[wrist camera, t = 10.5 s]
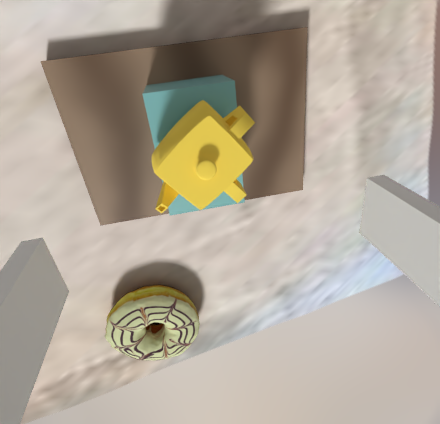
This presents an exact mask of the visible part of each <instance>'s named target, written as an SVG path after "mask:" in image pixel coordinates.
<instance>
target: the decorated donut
mask: <svg viewBox="0 0 440 424" xmlns="http://www.w3.org/2000/svg"><path fill="white" fill-rule="evenodd" d="M154 322H158V323H162V324H160V325H151V323H154ZM199 324H200V323H199V316H198V313H197V310H196V308H195V306H194V304H193V303H192V301H191V300H190V299H189V297H188V296H186V295H185V294H184V293H182V292H181V291H179V290H177V289H174V288H171V287H168V286H163V285H154V286H145V287H142V288H140V289H136V290H135V291H132V292H129V293H127V294H126V295H125V296H123V297H122V298H121V299H120V300H119V301H118V302H117V303H116V305H115V306H114V307H113V308H112V309H111V311H110V313H109V315H108V317H107V327H106V335H105V338H106V339H107V341H108V342H109V343H110V344H111V347H112V348H114V349H115V350H117V351H119V352H121V353H123V354H125V355H126V356H129V357H132V358H135V359H140V360H162V359H168V358H171V357H174V356H178V355H180V354H181V353H183V352H184V351H185V350H186V349H187V348H188V347H189V346H190V345H191V343H192V342H193V341H194V339H195V338H196V337H197V335H198V331H199Z"/></svg>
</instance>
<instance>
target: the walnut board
mask: <svg viewBox="0 0 440 424" xmlns="http://www.w3.org/2000/svg"><path fill="white" fill-rule="evenodd" d="M306 58H307V27H304V28H296V29H289V30H281V31H273V32H265V33H257V34H250V35H242V36H234V37H226V38H219V39H211V40H203V41H195V42H187V43H180V44H172V45H164V46H156V47H149V48H141V49H133V50H125V51H118V52H110V53H102V54H94V55H86V56H79V57H71V58H63V59H55V60H48V61H41V64H42V67H43V69H44V72H45V75H46V78H47V80H48V83H49V86H50V89H51V91H52V94H53V97H54V99H55V102H56V105H57V108H58V110H59V113H60V116H61V119H62V121H63V124H64V127H65V129H66V132H67V135H68V138H69V140H70V143H71V146H72V149H73V151H74V154H75V157H76V159H77V162H78V165H79V168H80V170H81V173H82V176H83V179H84V181H85V184H86V187H87V189H88V192H89V195H90V198H91V200H92V203H93V206H94V209H95V211H96V214H97V217H98V219H99V222H100V225H106V224H112V223H117V222H123V221H129V220H134V219H140V218H146V217H151V216H157V215H163V214H168V213H169V209H166V210H165V211H164V212H163V213H162V214H161V213H160V212H159V211H157V210H156V209H155V208H156V205H157V201H158V198H159V195H160V191H161V188H162V185H163V183H162V179H161V178H159V177H158V176H157V175H156V174H155V173H154V170H153V167H152V154H153V152H154V150H155V148H154V143H153V139H152V134H151V130H150V125H149V121H148V117H147V112H146V108H145V103H144V99H143V95H142V94H143V91H144V89H145V87H146V85H151V84H158V83H165V82H173V81H180V80H187V79H194V78H201V77H209V76H216V75H224V76H226V77H228V78H230V79H232V80H234V81H235V89H236V101H237V107H238V106H241V107H242V108H243V109H244V111H245V112H246V113H247V114H248V115H249V116H250V117H251V118H252V120H253V121H254V122H255V123H254V125H253V126H252V127H251V128H250V129H249V130H248V131H247V132H246V133H245V134H244V135H243V136H242V137H241V138H242V139H243V140H244V142H245V143H246V144H247V146H248V147H249V149H250V151H251V153H252V156H253V161H252V163H251V164H250V165H249V166H248V167H247V168H246V169H245V170H244V172H243V173H242V176H243V188H244V191H245V192H246V194H247V195H246V196H245V197H244V200H248V199H253V198H259V197H265V196H270V195H276V194H282V193H287V192H293V191H299V190H303V165H304V130H305V94H306Z"/></svg>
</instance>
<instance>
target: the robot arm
mask: <svg viewBox="0 0 440 424" xmlns="http://www.w3.org/2000/svg"><path fill="white" fill-rule="evenodd" d="M359 233H360V234H361V235H362V236H364V237H365V238H366V239H367V240H368V241H369V242H370V243H371V244H372V245H373V246H374V247H375V248H377V249H378V250H379V251H380V252H381V253H382V254H383V255H384V256H385V257H386V258H387V259H388V260H390V261H391V262H392V263H393V264H394V265H395V266H396V267H397V268H398V269H399V270H400V271H401V272H403V273H404V274H405V275H406V276H407V277H408V278H409V279H410V280H411V281H412V282H413V283H414V284H416V285H417V286H418V287H419V288H420V289H421V290H422V291H423V292H424V293H425V294H426V295H427V296H429V297H430V298H431V299H432V300H433V301H434V302H435V303H436V304H437V305H438V306H439V307H440V206H438V205H436V204H434V203H433V202H431V201H429V200H427V199H426V198H424V197H422V196H420V195H418V194H417V193H415V192H413V191H411V190H410V189H408V188H406V187H404V186H403V185H401V184H399V183H397V182H395V181H394V180H392V179H390V178H388V177H387V176H385V175H380V176H375V177H370V178H367V181H366V188H365V195H364V202H363V209H362V216H361V223H360V230H359ZM68 293H69V290H68V288H67V286H66V284H65V282H64V280H63V278H62V276H61V274H60V272H59V270H58V268H57V266H56V264H55V262H54V260H53V258H52V256H51V254H50V252H49V250H48V248H47V246H46V243H45V241H44V239H43V238H39V239H33V240H28V241H22V242H21V243H20V244H19V246H18V247H17V249H16V250H15V251H14V253H13V254H12V256H11V257H10V258H9V260H8V261H7V263H6V264H5V265H4V267H3V268H2V270H1V271H0V424H20V422H21V419H22V417H23V414H24V411H25V409H26V406H27V403H28V401H29V398H30V395H31V392H32V390H33V387H34V384H35V382H36V379H37V376H38V374H39V371H40V368H41V366H42V363H43V360H44V357H45V355H46V352H47V349H48V347H49V344H50V341H51V339H52V336H53V333H54V330H55V328H56V325H57V322H58V320H59V317H60V314H61V312H62V309H63V306H64V303H65V301H66V298H67V295H68Z"/></svg>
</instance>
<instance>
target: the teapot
mask: <svg viewBox="0 0 440 424" xmlns="http://www.w3.org/2000/svg"><path fill="white" fill-rule="evenodd" d="M254 123H255V122H254V121H253V120H252V118H251V117H250V116H249V115H248V114H247V113H246V112H245V111H244V109H243V108H242V107H241V106H238V107H237V108H236V109H234V110H233V111H232V112H231V113H229V114H228V115H227V116H226V117H224V118H222V117H221V116H220V115H219V114H218V113H217V112H216V111H215V110H214V109H213V108H212V107H211V106H210V105H209V104H208V103H207V102H206V101H204V100H202V101H200V102H198V103H197V104H196V105H195V106H194V107H193V108H191V109H190V110H189V111H188V112H187V113H186V114H185V115H184V116H183V117H182V118H181V119H180V120H179V121H178V122H177V123H176V124H175V125H174V127H173V128H172V129H171V130H170V131H169V132H168V134H167V135H166V136H165V137H164V138H163V140H162V141H161V142H160V143H159V145H158V146H157V147H156V149H155V150H154V152H153V154H152V167H153V170H154V173H155V174H156V175H157V176H158V177H159V178H161V179H162V180H163V185H162V188H161V191H160V195H159V198H158V201H157V205H156V208H155V209H156V210H157V211H159V212H160V213H161V214H162V213H163V212H164V211H165V210H166V209H168V207H169V206H170V204H171V203H172V202H173V201H174V199H175V198H176V197H177V196H178V194H180V195H181V196H183V197H184V198H185V199H186V200H188V201H189V202H190V203H192V204H193V205H194V206H195V207H197V208H198V209H200V210H202V209H204V208H205V207H206V206H208V205H209V204H210V203H211V202H212V201H213V200H215V199H216V198H217V197H218V196H219V195H220V194H221V193H222V192H223V191H224V192H225V193H226V194H228V195H229V196H230V197H231V198H232V199H233V200H234V201H236V202H237V203H239V202H240V201H241V200H242V199H243V198H244V197H245V196H246V195H247V194H246V192H245V191H244V189H243V187H242V185H241V183H240V182H239V181H238V180H237V178H238V177H239V176H240V175H241V174H242V173H243V172H244V170H245V169H246V168H247V167H248V166H249V165H250V164H251V163H252V161H253V156H252V153H251V151H250V149H249V147H248V146H247V144H246V143H245V142H244V140H243V139H242V138H241V137H242V136H243V135H244V134H245V133H246V132H247V131H248V130H249V129H250V128H251V127H252V126H253V125H254Z"/></svg>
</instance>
